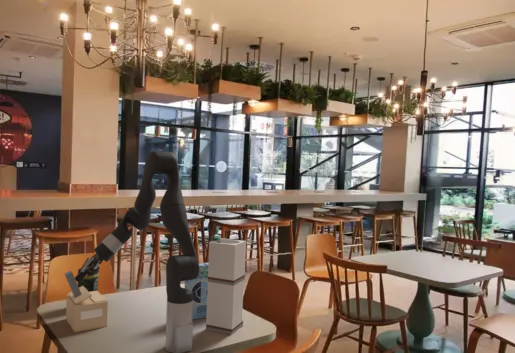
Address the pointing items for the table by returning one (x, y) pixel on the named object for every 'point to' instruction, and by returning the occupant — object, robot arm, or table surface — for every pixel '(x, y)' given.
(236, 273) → the white square pillar
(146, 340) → the table surface
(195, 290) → the gum box
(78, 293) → the flap
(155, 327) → the table surface
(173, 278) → the robot arm
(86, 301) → the carton
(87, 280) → the coffee jar
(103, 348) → the table surface
